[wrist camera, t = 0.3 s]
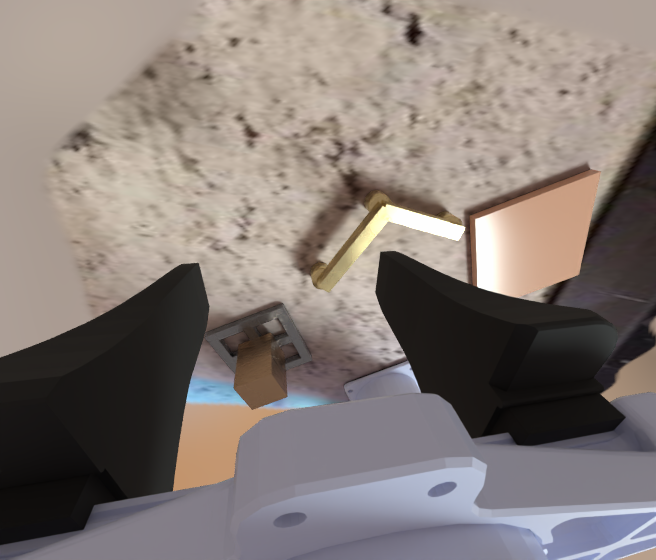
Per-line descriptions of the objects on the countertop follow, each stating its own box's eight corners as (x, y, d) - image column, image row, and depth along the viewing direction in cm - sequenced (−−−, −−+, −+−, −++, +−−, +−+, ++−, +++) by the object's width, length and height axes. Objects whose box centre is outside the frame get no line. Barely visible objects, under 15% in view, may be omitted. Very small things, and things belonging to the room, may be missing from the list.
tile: (571, 270, 28) (578, 274, 28) (473, 306, 29) (478, 311, 28) (591, 169, 23) (600, 171, 22) (469, 215, 23) (475, 219, 22)
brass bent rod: (453, 229, 23) (470, 242, 21) (314, 282, 24) (318, 299, 22) (447, 161, 20) (467, 168, 18) (288, 223, 21) (290, 237, 19)
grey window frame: (311, 355, 28) (319, 401, 24) (244, 380, 28) (241, 430, 24) (282, 303, 24) (286, 347, 20) (205, 332, 24) (193, 382, 20)
